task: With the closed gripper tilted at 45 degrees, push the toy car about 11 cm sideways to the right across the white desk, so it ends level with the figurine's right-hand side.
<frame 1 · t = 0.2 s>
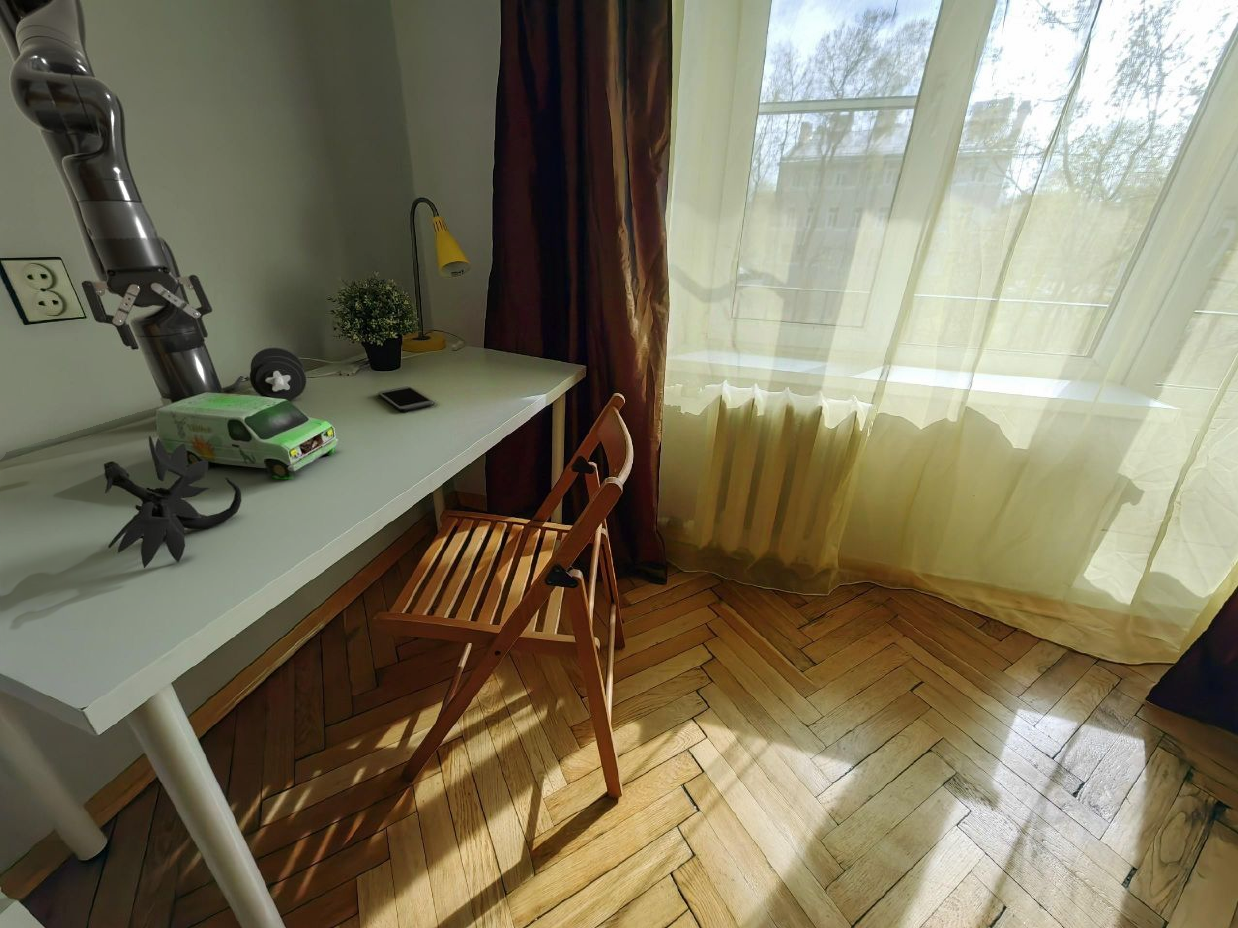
hand: (169, 345, 81), 17 cm above the table, tool pointing down, fingers open, 8 cm apart
figurine: (189, 547, 61), on the table
dumbbell: (285, 396, 110), on the table
toy car: (259, 460, 82), on the table
smartphone: (405, 400, 108), on the table
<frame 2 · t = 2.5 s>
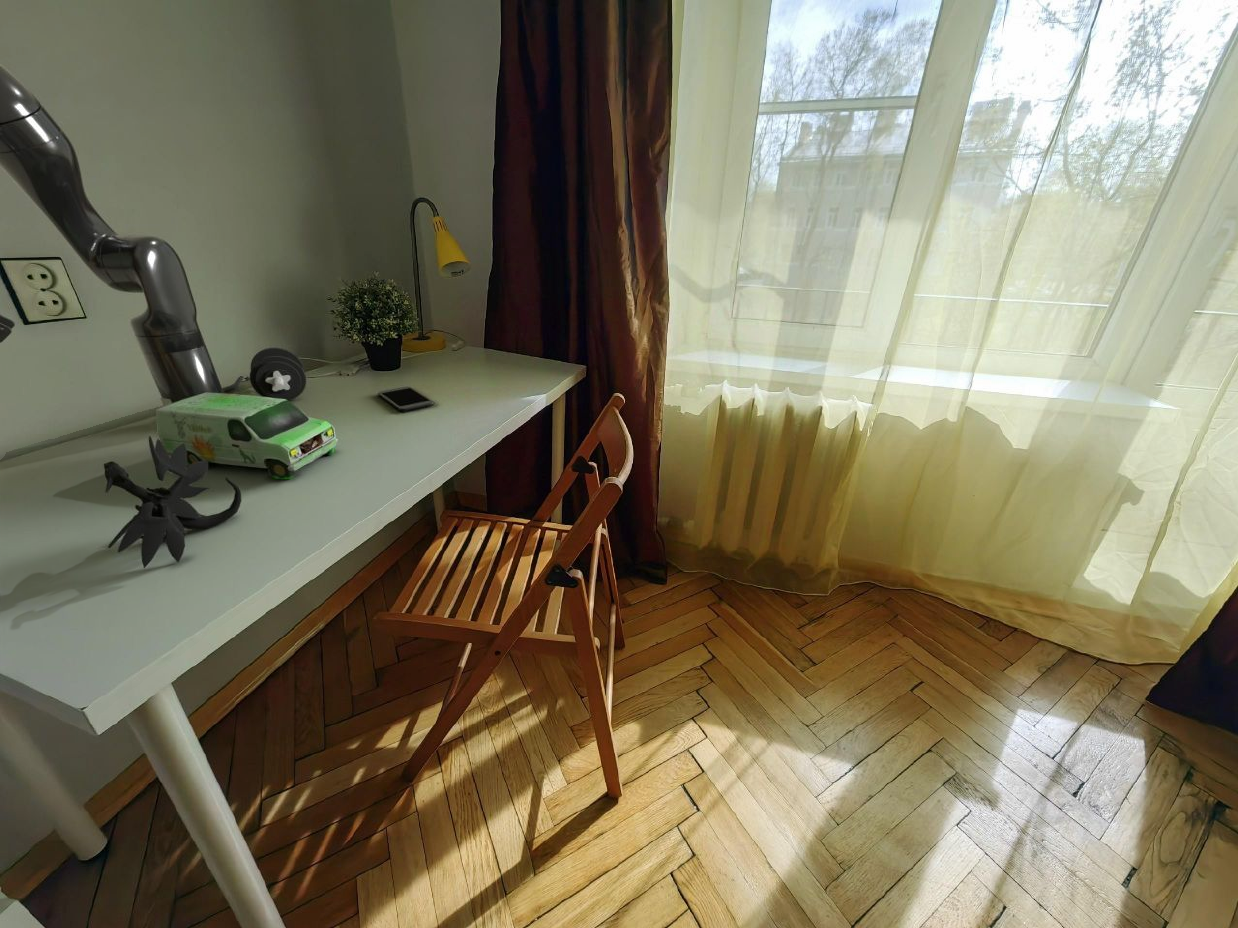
hand: (8, 333, 60), 23 cm above the table, tool tilted 40°, fingers open, 8 cm apart
nothing on the table moved.
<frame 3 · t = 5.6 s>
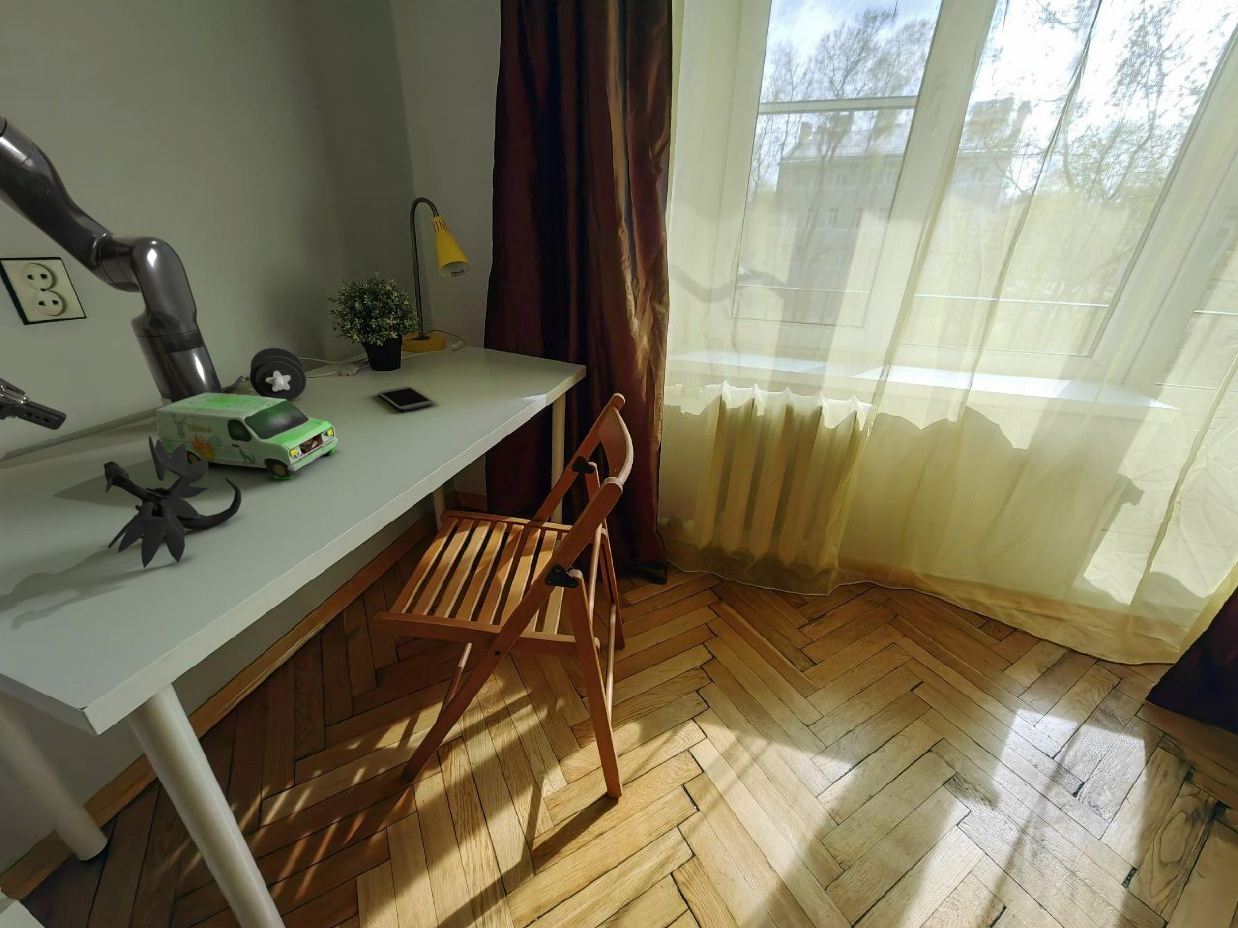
hand: (62, 422, 66), 12 cm above the table, tool tilted 45°, fingers closed
nothing on the table moved.
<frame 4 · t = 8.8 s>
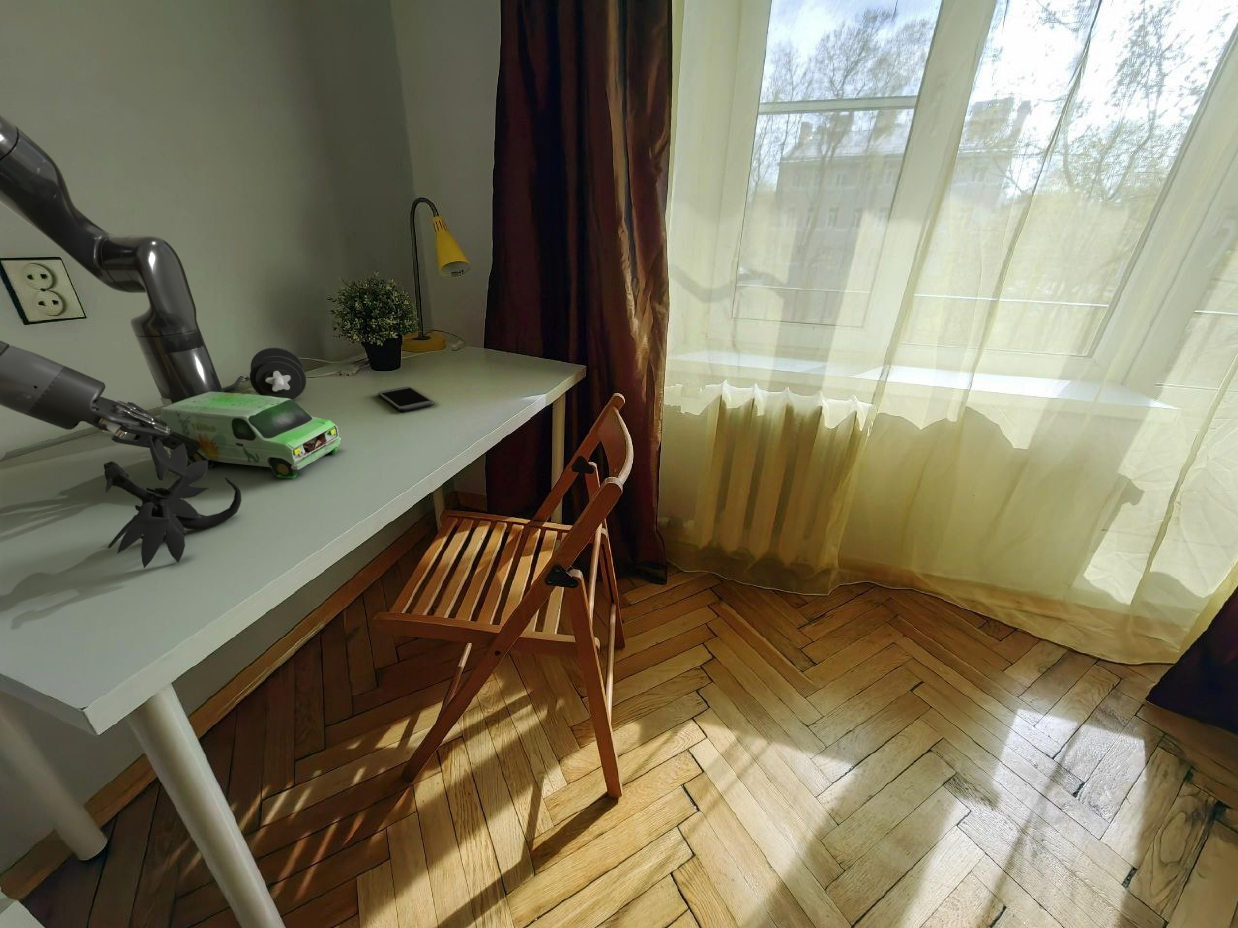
hand: (196, 449, 76), 4 cm above the table, tool tilted 45°, fingers closed
toy car: (262, 459, 82), on the table, touching gripper
everything else where it was.
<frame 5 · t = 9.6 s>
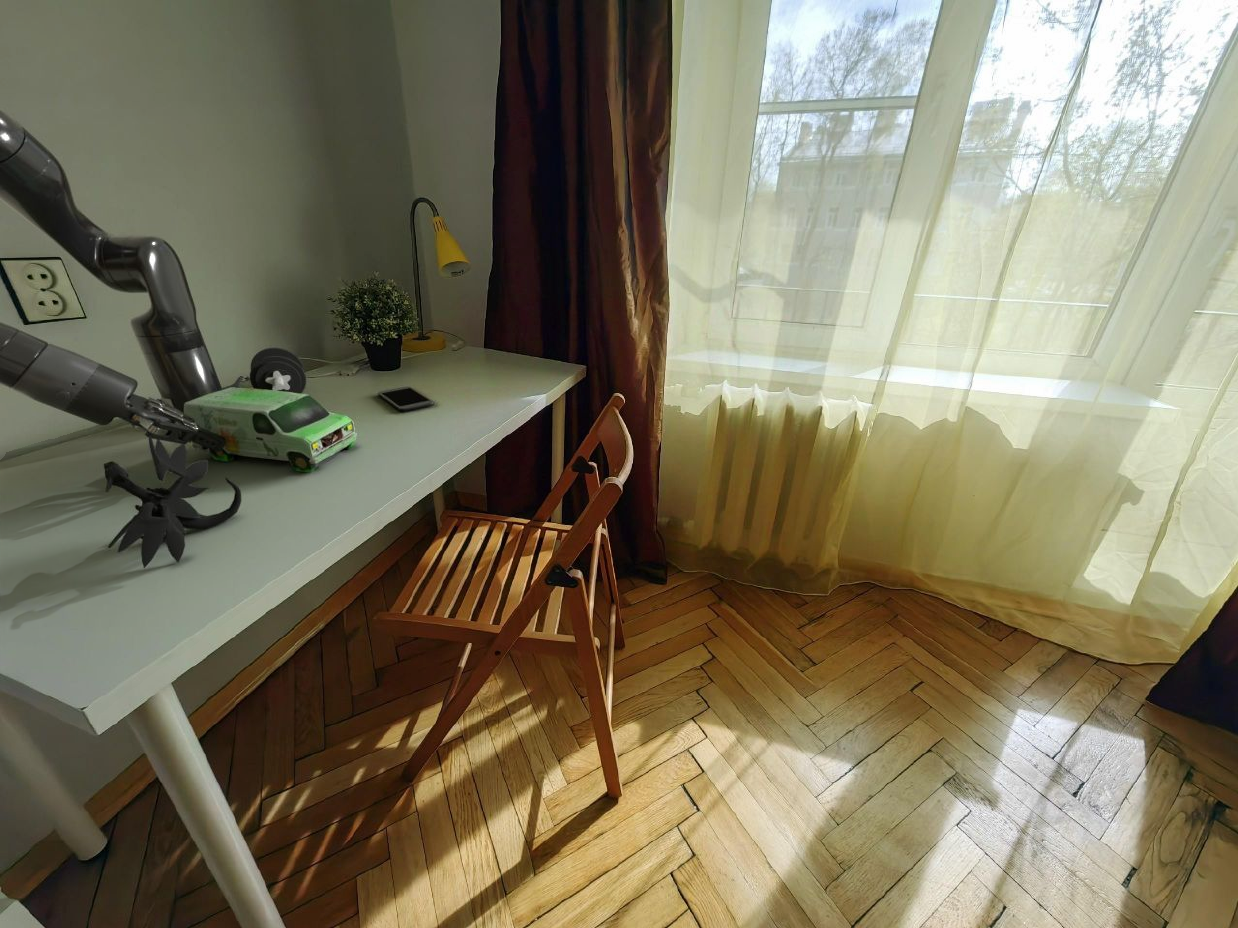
hand: (223, 445, 78), 4 cm above the table, tool tilted 45°, fingers closed
toy car: (281, 453, 84), on the table, touching gripper
everything else where it was.
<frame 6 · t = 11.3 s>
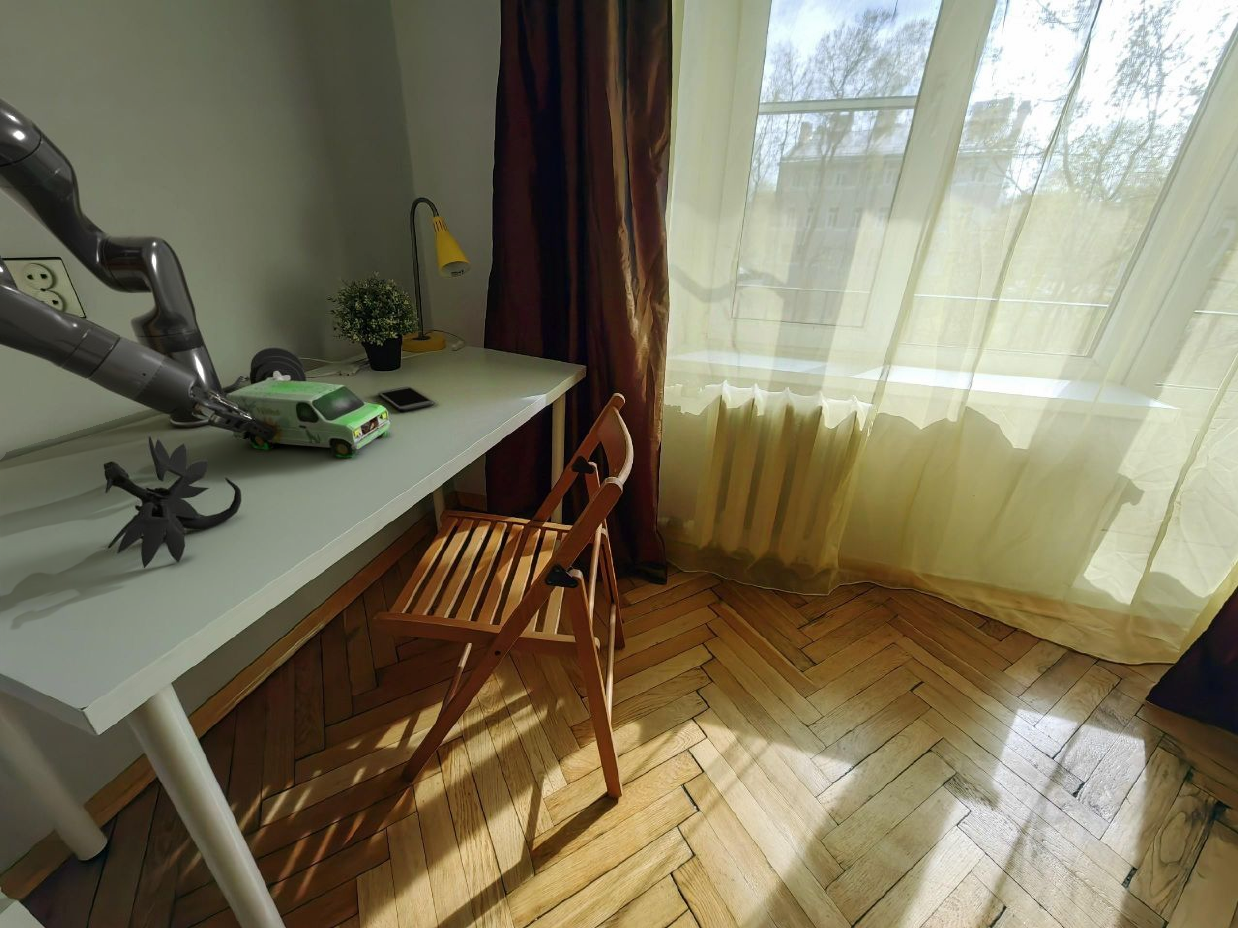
hand: (273, 434, 82), 4 cm above the table, tool tilted 45°, fingers closed
toy car: (317, 442, 89), on the table, touching gripper
everything else where it was.
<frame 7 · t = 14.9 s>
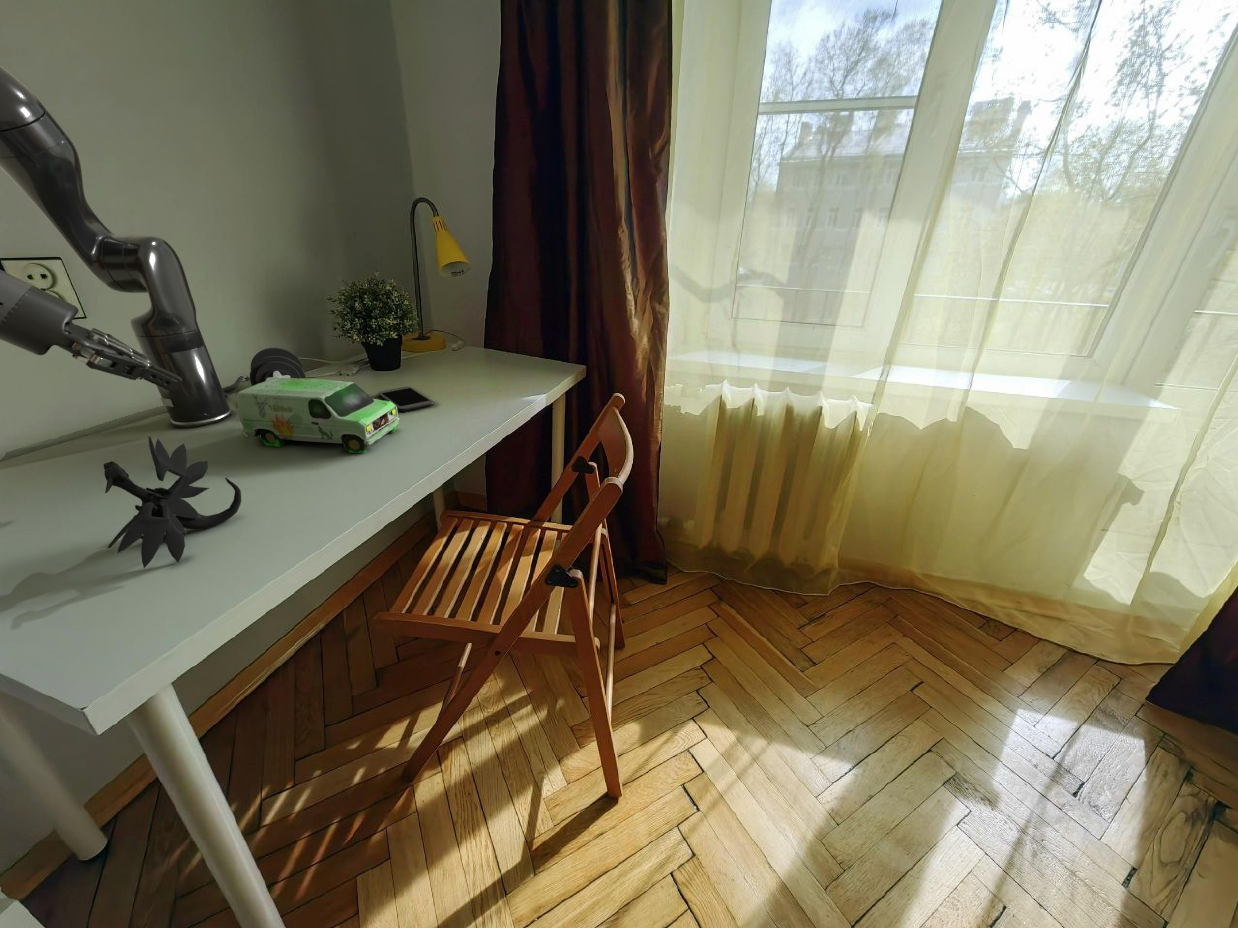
hand: (178, 385, 72), 14 cm above the table, tool tilted 45°, fingers closed
toy car: (327, 438, 90), on the table
everything else where it was.
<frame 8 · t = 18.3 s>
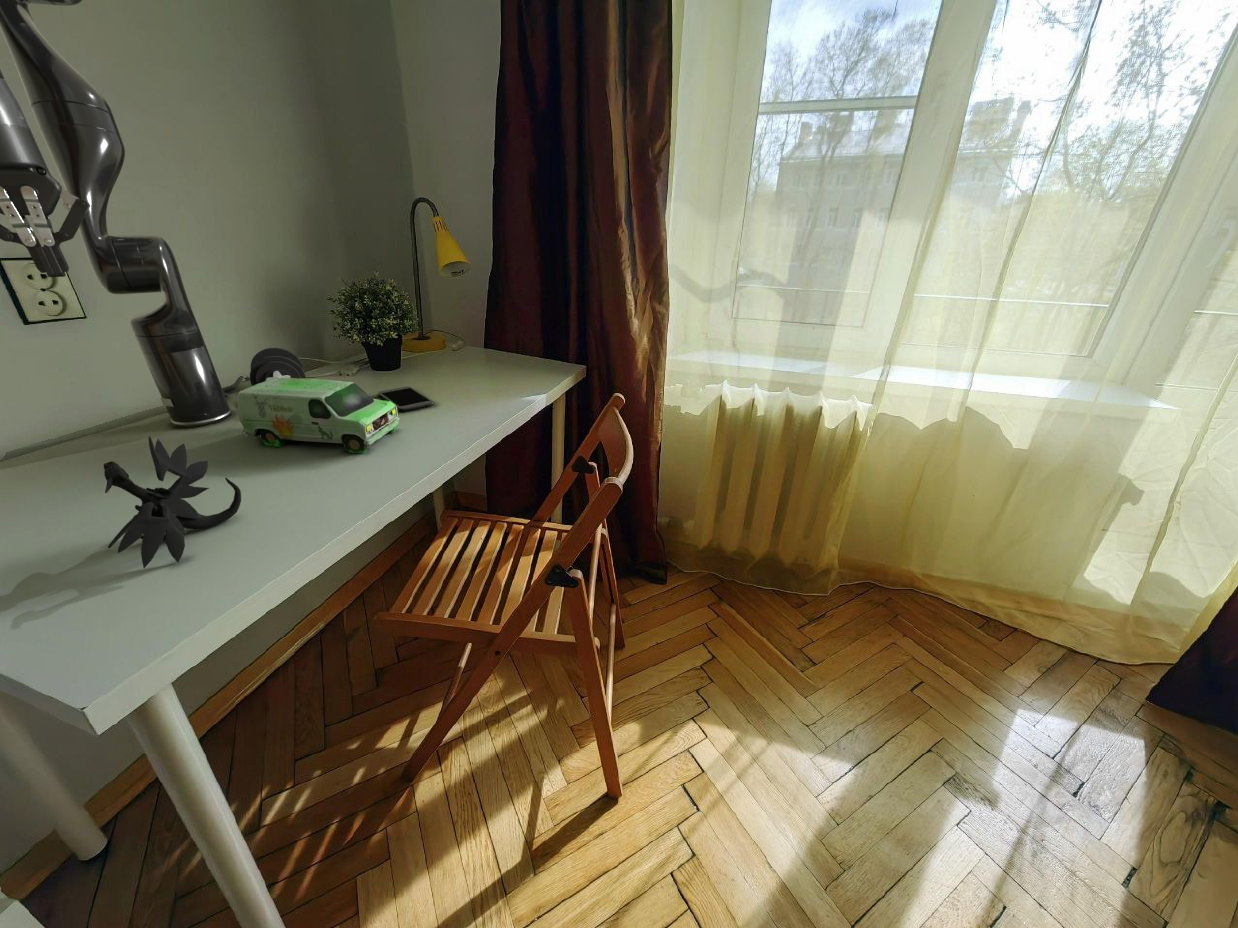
hand: (57, 276, 66), 29 cm above the table, tool pointing down, fingers closed
nothing on the table moved.
at the end: toy car moved 11.3 cm from its start; toy car tilted 0° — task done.
